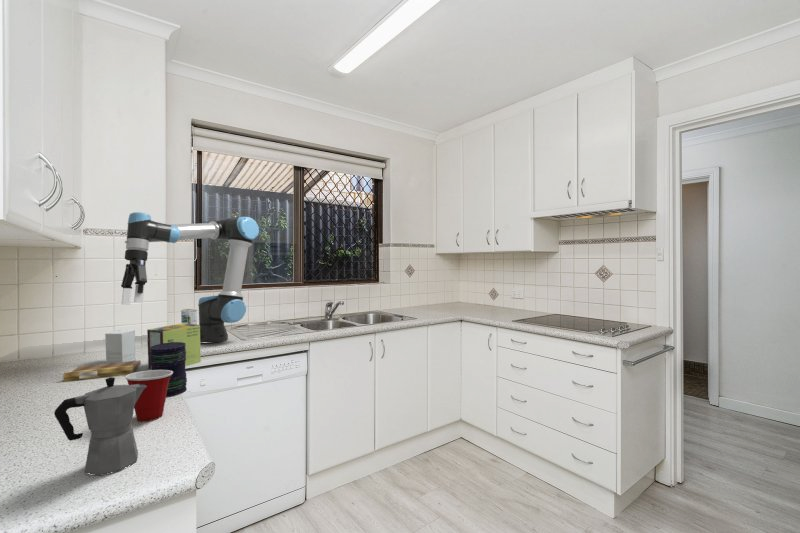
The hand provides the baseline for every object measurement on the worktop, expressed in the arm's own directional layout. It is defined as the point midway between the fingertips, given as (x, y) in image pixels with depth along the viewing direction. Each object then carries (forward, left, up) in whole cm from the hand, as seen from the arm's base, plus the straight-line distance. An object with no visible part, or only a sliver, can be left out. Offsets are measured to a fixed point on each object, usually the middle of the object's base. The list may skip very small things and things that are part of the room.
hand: (131, 303), depth 151 cm
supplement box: (+6, -10, -25) cm, 28 cm away
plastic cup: (-15, +61, -25) cm, 67 cm away
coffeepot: (-11, +86, -25) cm, 90 cm away
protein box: (-15, +6, -25) cm, 30 cm away
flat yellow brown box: (+8, +5, -25) cm, 27 cm away
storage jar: (-17, +41, -25) cm, 51 cm away
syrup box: (-15, -61, -25) cm, 68 cm away
